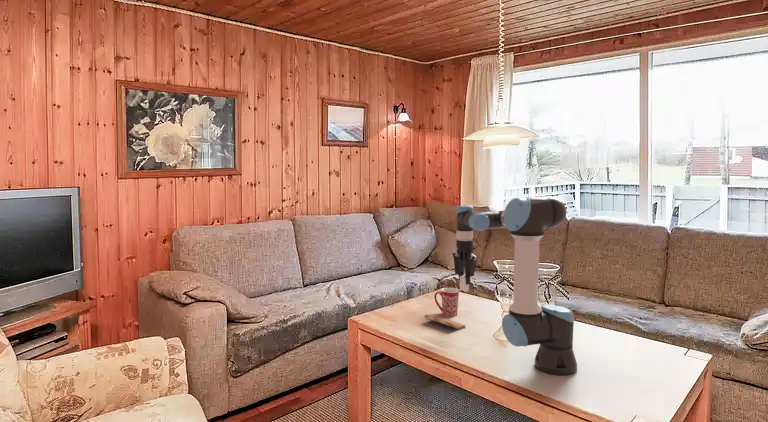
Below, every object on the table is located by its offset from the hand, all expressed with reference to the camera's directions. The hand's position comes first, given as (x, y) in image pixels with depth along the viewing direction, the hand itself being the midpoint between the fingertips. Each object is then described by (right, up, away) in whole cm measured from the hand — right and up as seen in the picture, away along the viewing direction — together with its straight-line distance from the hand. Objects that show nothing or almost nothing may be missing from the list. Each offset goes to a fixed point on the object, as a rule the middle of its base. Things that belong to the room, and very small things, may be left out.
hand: (464, 290), depth 228 cm
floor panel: (-9, -18, +5) cm, 21 cm away
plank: (-10, -16, +3) cm, 19 cm away
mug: (-5, -16, +22) cm, 28 cm away
